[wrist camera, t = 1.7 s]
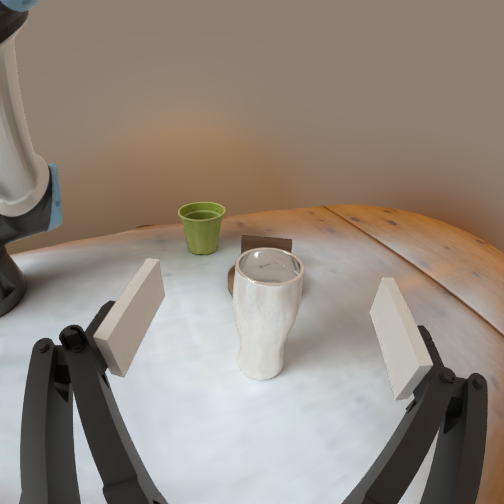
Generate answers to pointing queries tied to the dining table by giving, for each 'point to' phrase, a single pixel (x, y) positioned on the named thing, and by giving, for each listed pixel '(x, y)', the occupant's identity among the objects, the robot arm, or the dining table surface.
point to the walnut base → (258, 242)
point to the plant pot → (202, 226)
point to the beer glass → (265, 308)
